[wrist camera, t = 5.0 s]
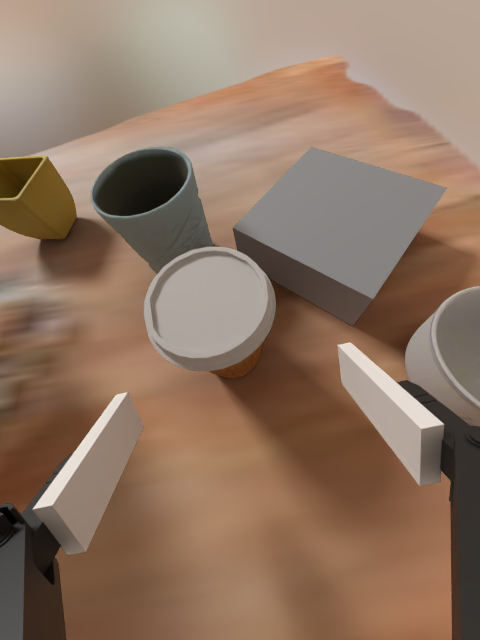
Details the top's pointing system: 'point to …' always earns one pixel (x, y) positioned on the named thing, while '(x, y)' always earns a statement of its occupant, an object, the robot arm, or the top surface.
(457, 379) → the teacup
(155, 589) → the top surface
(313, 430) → the top surface
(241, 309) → the disposable coffee cup
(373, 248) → the riser block
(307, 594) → the top surface
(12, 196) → the flower pot
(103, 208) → the grey-green cup
